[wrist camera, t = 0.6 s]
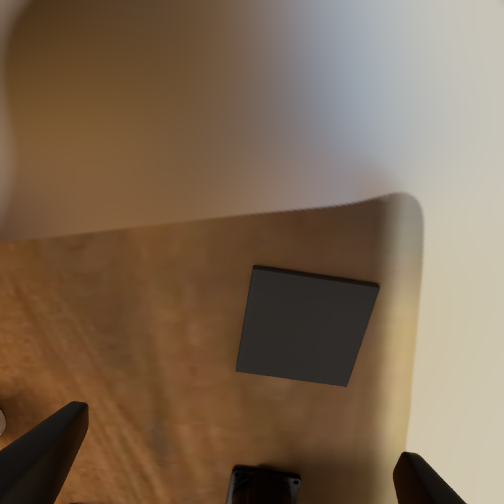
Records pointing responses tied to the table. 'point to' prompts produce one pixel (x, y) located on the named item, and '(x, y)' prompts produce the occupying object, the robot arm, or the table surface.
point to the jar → (2, 423)
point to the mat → (304, 325)
